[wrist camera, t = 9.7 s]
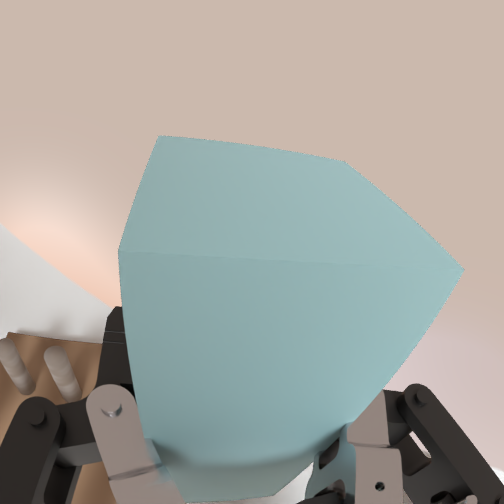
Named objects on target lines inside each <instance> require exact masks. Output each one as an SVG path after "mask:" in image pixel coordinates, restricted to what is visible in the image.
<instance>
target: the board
mask: <svg viewBox="0 0 504 504" xmlns="http://www.w3.org/2000/svg"><path fill="white" fill-rule="evenodd" d="M101 349H102V344H97V343H86V342H77V341H68V340H59V339H52V338H44V337H37V336H30V335H23V334H17V333H11V332H8V334H7V337H6V338H3V339H1V340H0V445H1V443H2V441H3V438H4V436H5V434H6V432H7V430H8V427H9V425H10V423H11V421H12V419H13V417H14V415H15V412H16V410H17V408H18V407H19V405H20V404H21V403H22V402H23V401H24V400H26V399H28V398H30V397H35V396H40V397H44V398H47V399H49V400H50V401H52V402H53V403H54V404H55V405H60V404H65V403H71V402H76V401H79V400H82V399H83V398H85V397H87V396H88V395H89V394H90V393H91V392H92V390H93V389H94V387H95V385H96V381H97V375H98V368H99V361H100V355H101ZM71 504H117V502H116V499H115V497H114V495H113V492H112V490H111V487H110V484H109V480H108V474H107V471H106V468H105V466H104V463H103V461H101V462H96V463H91V464H86V465H83V466H82V469H81V472H80V475H79V479H78V482H77V485H76V489H75V492H74V495H73V499H72V502H71Z"/></svg>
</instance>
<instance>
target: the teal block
mask: <svg viewBox="0 0 504 504" xmlns="http://www.w3.org/2000/svg"><path fill="white" fill-rule="evenodd" d="M118 259H119V274H120V286H121V299H122V309H123V318H124V327H125V335H126V343H127V350H128V357H129V363H130V369H131V375H132V381H133V387H134V392H135V397H136V402H137V407H138V412H139V417H140V421H141V426H142V430H143V435H144V438H151V440H152V442H153V444H154V447H155V449H156V451H157V453H158V455H159V457H160V459H161V461H162V463H163V464H164V465H165V466H166V468H167V470H168V471H169V473H170V475H171V477H172V479H173V481H174V483H175V485H176V486H177V488H178V490H179V492H180V494H181V496H182V498H183V499H184V501H185V503H195V502H217V501H231V500H242V499H251V498H259V497H266V496H273V495H275V494H276V493H277V492H279V491H280V490H281V489H282V488H284V487H285V486H286V485H287V484H288V483H290V482H291V481H292V480H293V479H294V478H295V477H297V476H298V475H299V474H300V473H301V472H302V471H304V470H305V469H306V468H307V467H308V466H309V465H310V464H311V463H312V462H314V456H315V455H316V454H317V453H318V452H319V451H323V450H326V449H327V448H328V447H329V446H330V445H331V444H332V443H333V442H334V441H335V440H336V439H337V438H338V437H339V436H340V430H341V429H342V427H343V426H344V425H345V424H346V423H348V422H353V421H355V420H356V419H357V418H358V416H359V415H360V414H361V413H362V412H363V411H364V410H365V409H366V408H367V406H368V405H369V404H370V403H371V402H372V401H373V400H374V398H375V397H376V396H377V395H378V394H379V393H380V391H381V390H382V389H383V388H384V387H385V385H386V384H387V383H388V382H389V381H390V379H391V378H392V377H393V375H394V374H395V373H396V372H397V371H398V369H399V368H400V367H401V365H402V364H403V363H404V361H405V360H406V359H407V358H408V356H409V355H410V353H411V352H412V351H413V349H414V348H415V347H416V345H417V344H418V342H419V341H420V340H421V338H422V337H423V335H424V334H425V333H426V331H427V330H428V328H429V327H430V325H431V324H432V322H433V321H434V319H435V318H436V316H437V315H438V313H439V311H440V310H441V308H442V307H443V305H444V303H445V302H446V300H447V298H448V297H449V296H450V294H451V292H452V291H453V289H454V287H455V285H456V284H457V282H458V280H459V279H460V277H461V275H462V273H463V272H464V269H463V268H462V267H461V266H460V264H458V262H457V261H456V260H455V259H454V258H453V257H452V256H451V255H450V254H449V253H448V252H447V251H446V250H445V249H444V248H443V247H442V246H441V245H440V244H439V243H438V242H436V240H435V239H434V238H433V237H431V236H430V234H428V233H427V232H426V231H425V230H424V229H423V228H422V227H421V226H420V225H419V224H418V223H416V221H415V220H413V219H412V218H411V217H410V216H409V215H408V214H407V213H406V212H405V211H403V210H402V209H401V208H400V207H399V206H398V205H397V204H395V203H394V202H393V201H392V200H391V199H390V198H389V197H387V196H386V195H385V194H384V193H383V192H382V191H380V190H379V189H378V188H377V187H376V186H374V185H373V184H372V183H371V182H370V181H368V180H367V179H366V178H365V177H363V176H362V175H361V174H360V173H359V172H357V171H356V170H355V169H354V168H352V167H351V166H350V165H348V164H347V163H346V162H344V161H339V160H334V159H329V158H324V157H319V156H314V155H309V154H303V153H298V152H292V151H286V150H280V149H274V148H267V147H261V146H254V145H247V144H238V143H230V142H223V141H214V140H205V139H194V138H184V137H172V136H158V139H157V141H156V144H155V146H154V148H153V151H152V153H151V156H150V159H149V161H148V164H147V166H146V169H145V172H144V174H143V177H142V180H141V182H140V185H139V188H138V191H137V193H136V196H135V199H134V202H133V205H132V208H131V211H130V214H129V217H128V221H127V223H126V226H125V230H124V233H123V236H122V239H121V242H120V246H119V249H118Z"/></svg>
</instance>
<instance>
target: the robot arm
mask: <svg viewBox="0 0 504 504" xmlns="http://www.w3.org/2000/svg"><path fill="white" fill-rule="evenodd" d="M412 431H413V432H414V433H415V434H416V435H417V437H418V438H419V440H420V441H421V442H422V444H423V445H424V446H425V448H426V449H427V450H428V452H429V453H430V455H431V457H432V458H428V457H426V456H425V455H424V454H423V452H422V451H421V450H420V448H419V447H418V446H417V444H416V443H415V442H414V440H413V439H412V437H411V436H410V435H409V434H410V433H411V432H412ZM101 461H103V463H104V466H105V468H106V471H107V474H108V480H109V484H110V487H111V490H112V492H113V495H114V497H115V499H116V502H117V504H186V503H185V501H184V499H183V498H182V496H181V494H180V492H179V490H178V488H177V486H176V485H175V483H174V481H173V479H172V477H171V475H170V473H169V471H168V470H167V468H166V466H165V465H164V464H163V463H162V461H161V459H160V457H159V455H158V453H157V451H156V449H155V447H154V444H153V442H152V440H151V438H144V435H143V430H142V426H141V421H140V417H139V412H138V407H137V402H136V397H135V392H134V387H133V381H132V375H131V369H130V363H129V357H128V350H127V343H126V335H125V327H124V318H123V309H122V307H118V306H116V307H115V308H114V309H113V310H112V312H111V313H110V314H109V316H108V317H107V322H106V327H105V332H104V338H103V343H102V349H101V355H100V361H99V368H98V375H97V381H96V385H95V387H94V389H93V390H92V392H91V393H90V394H89V395H88V396H87V397H85V398H83V399H82V400H79V401H76V402H71V403H65V404H60V405H55V404H54V403H53V402H52V401H50V400H49V399H47V398H44V397H40V396H35V397H30V398H28V399H26V400H24V401H23V402H22V403H21V404H20V405H19V407H18V408H17V410H16V412H15V415H14V417H13V419H12V421H11V423H10V425H9V427H8V430H7V432H6V434H5V436H4V438H3V441H2V443H1V445H0V504H71V502H72V499H73V495H74V492H75V489H76V485H77V482H78V479H79V475H80V472H81V469H82V466H83V465H86V464H91V463H96V462H101ZM403 489H404V491H405V492H406V494H407V495H408V496H409V498H410V499H411V501H412V502H413V504H504V485H503V484H502V482H501V481H500V480H499V478H498V477H497V475H496V474H495V473H494V471H493V470H492V469H491V467H490V466H489V465H488V463H487V462H486V461H485V459H484V458H483V457H482V455H481V454H480V453H479V451H478V450H477V449H476V447H475V446H474V445H473V443H472V442H471V441H470V439H469V438H468V437H467V436H466V434H465V433H464V432H463V430H462V429H461V428H460V427H459V425H458V424H457V423H456V422H455V420H454V419H453V418H452V417H451V415H450V414H449V413H448V412H447V410H446V409H445V408H444V406H443V405H442V404H441V403H440V401H439V400H438V399H437V398H436V396H435V395H434V394H433V393H432V392H431V390H430V389H428V388H427V387H426V386H424V385H421V384H411V385H409V386H408V387H407V388H406V389H405V390H404V392H398V391H390V390H383V389H382V390H381V391H380V393H379V394H378V395H377V396H376V397H375V398H374V400H373V401H372V402H371V403H370V404H369V405H368V406H367V408H366V409H365V410H364V411H363V412H362V413H361V414H360V415H359V416H358V418H357V419H356V420H355V421H353V422H348V423H346V424H345V425H344V426H343V427H342V429H341V430H340V436H339V437H338V438H337V439H336V440H335V441H334V442H333V443H332V444H331V445H330V446H329V447H328V448H327V449H326V450H323V451H319V452H318V453H317V454H316V455H315V456H314V464H313V472H312V475H311V477H310V479H309V481H308V484H307V487H306V492H305V500H303V501H301V502H299V503H297V504H403Z"/></svg>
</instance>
